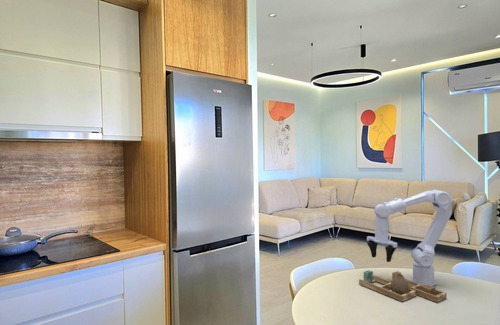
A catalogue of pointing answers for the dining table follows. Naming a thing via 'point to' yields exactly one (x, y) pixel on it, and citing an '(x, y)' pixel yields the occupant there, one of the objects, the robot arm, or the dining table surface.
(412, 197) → the robot arm
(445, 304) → the dining table surface
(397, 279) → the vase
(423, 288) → the walnut cube
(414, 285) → the frame
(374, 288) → the tray
